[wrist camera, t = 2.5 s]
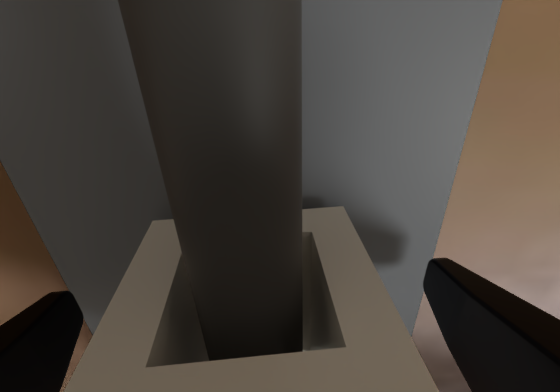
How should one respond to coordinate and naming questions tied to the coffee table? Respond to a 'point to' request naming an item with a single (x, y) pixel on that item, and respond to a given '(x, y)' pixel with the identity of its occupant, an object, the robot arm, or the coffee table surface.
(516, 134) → the coffee table surface
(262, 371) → the sleeve
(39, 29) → the grey rod slide mechanism
